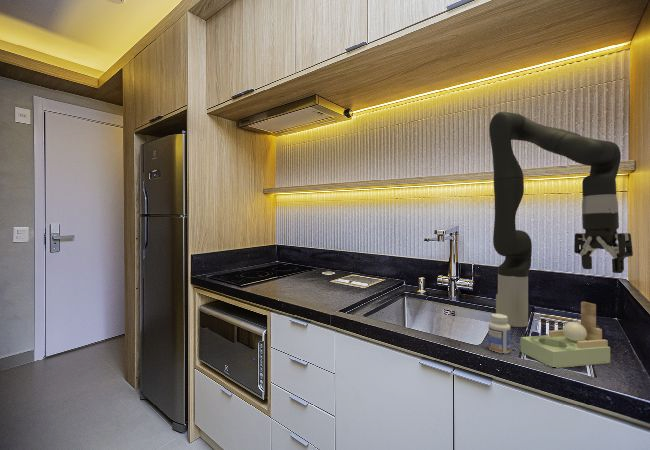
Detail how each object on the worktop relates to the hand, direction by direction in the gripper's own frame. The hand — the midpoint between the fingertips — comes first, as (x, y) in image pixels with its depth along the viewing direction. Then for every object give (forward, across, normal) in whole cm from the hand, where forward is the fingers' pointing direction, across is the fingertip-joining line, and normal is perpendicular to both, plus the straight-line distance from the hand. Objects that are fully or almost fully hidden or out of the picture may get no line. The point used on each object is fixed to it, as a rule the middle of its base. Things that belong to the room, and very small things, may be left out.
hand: (601, 270), depth 85 cm
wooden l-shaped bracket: (+18, +1, -5) cm, 19 cm away
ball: (+16, +1, -10) cm, 19 cm away
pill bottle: (+22, -4, -28) cm, 36 cm away
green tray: (+22, +1, -13) cm, 26 cm away
